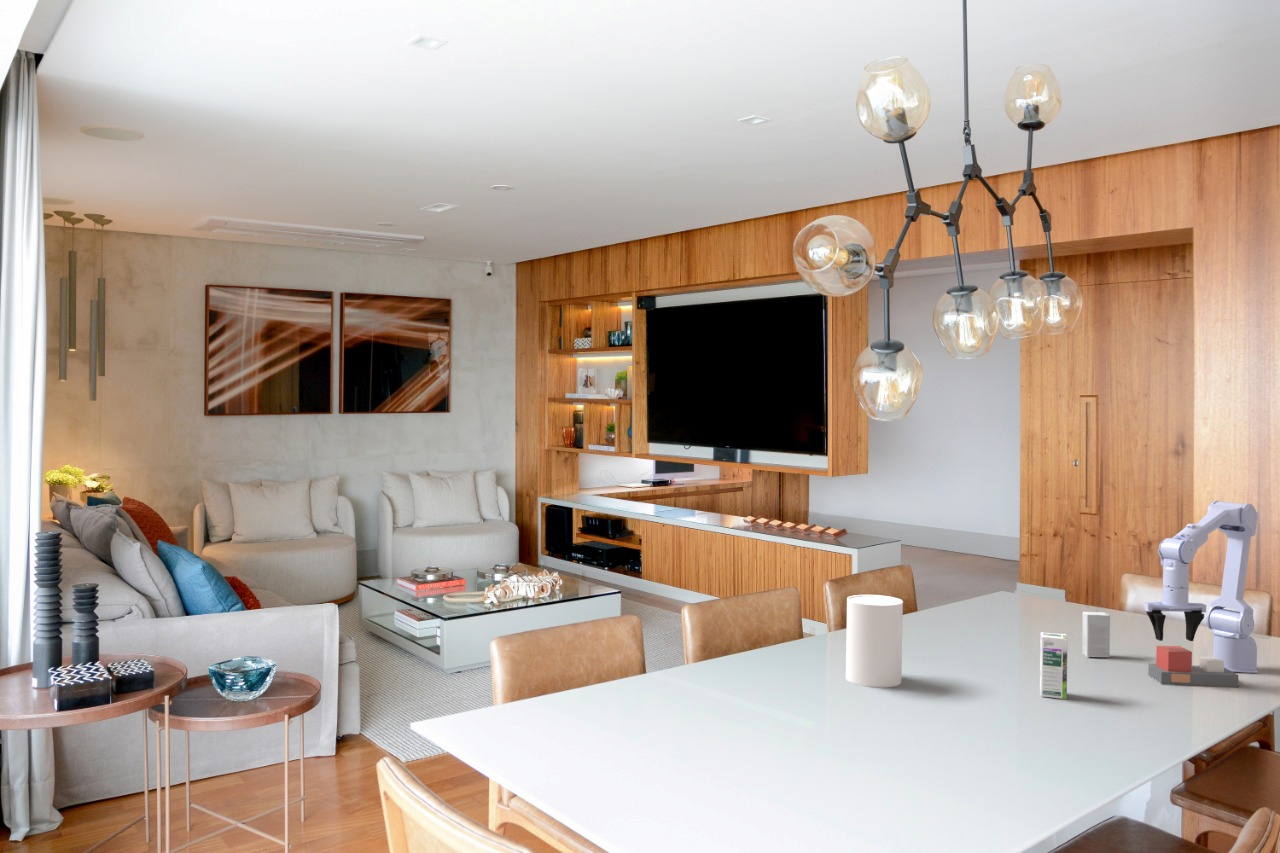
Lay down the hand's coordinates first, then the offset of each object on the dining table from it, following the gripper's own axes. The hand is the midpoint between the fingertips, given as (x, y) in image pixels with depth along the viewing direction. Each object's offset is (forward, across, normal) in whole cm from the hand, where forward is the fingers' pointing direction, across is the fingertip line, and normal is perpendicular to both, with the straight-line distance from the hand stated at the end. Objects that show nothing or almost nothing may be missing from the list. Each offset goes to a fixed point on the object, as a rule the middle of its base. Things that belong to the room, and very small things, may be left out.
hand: (1174, 640), depth 246 cm
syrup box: (+10, +36, +14) cm, 40 cm away
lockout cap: (+7, 0, 0) cm, 7 cm away
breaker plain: (+8, -9, +1) cm, 12 cm away
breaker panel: (+10, -4, 0) cm, 11 cm away
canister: (+10, +76, +4) cm, 77 cm away
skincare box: (+10, +9, -23) cm, 27 cm away
